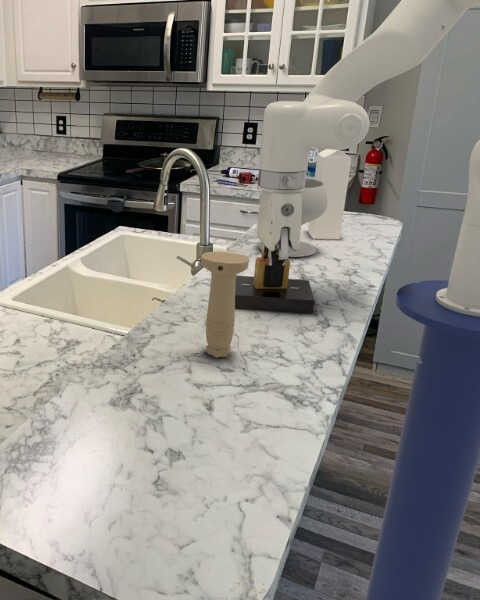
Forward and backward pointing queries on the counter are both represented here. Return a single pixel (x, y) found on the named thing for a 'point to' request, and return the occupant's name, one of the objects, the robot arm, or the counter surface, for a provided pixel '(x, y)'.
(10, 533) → the counter surface
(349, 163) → the milk
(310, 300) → the plate
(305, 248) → the chalice
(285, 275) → the tan square block
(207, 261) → the handle
